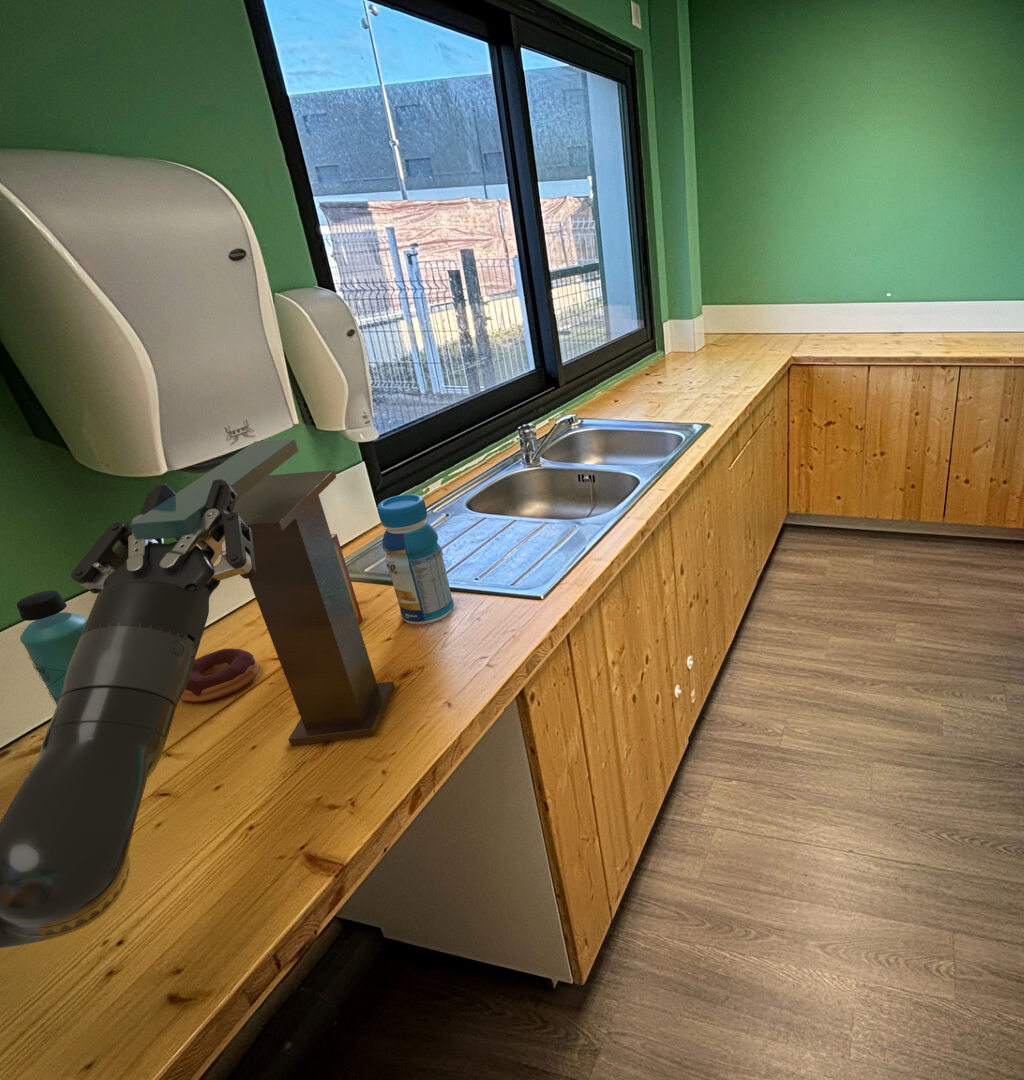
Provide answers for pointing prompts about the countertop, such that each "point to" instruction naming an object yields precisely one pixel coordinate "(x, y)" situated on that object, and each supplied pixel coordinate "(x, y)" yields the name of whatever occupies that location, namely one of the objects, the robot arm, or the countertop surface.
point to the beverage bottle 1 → (50, 637)
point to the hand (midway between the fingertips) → (196, 487)
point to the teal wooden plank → (191, 501)
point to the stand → (310, 610)
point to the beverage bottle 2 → (414, 560)
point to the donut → (220, 674)
